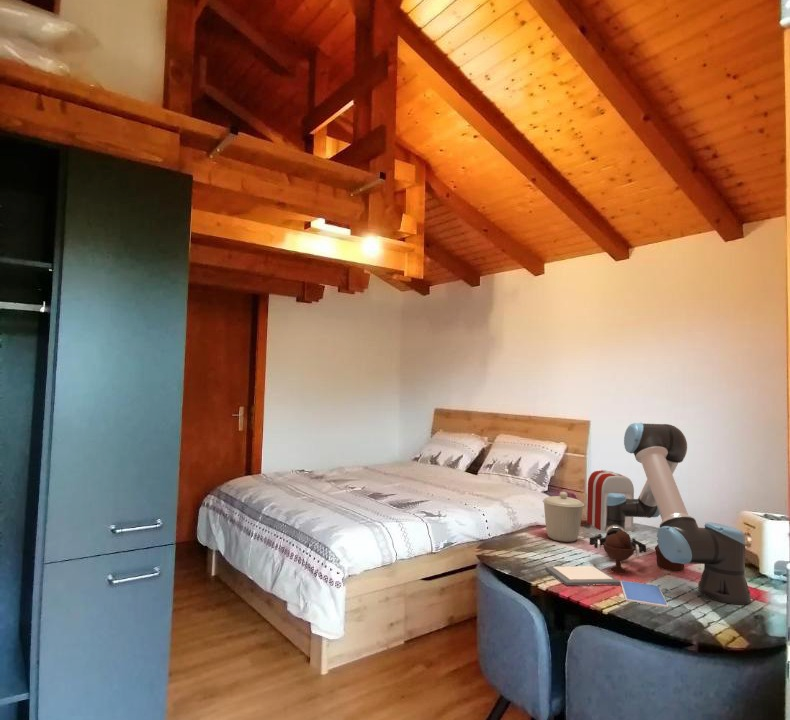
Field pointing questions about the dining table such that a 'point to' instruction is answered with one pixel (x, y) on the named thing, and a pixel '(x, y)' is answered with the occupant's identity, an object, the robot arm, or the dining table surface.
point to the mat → (568, 582)
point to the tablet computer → (643, 594)
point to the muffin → (667, 562)
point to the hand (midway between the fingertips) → (618, 550)
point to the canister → (563, 517)
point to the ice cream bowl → (619, 549)
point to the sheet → (582, 573)
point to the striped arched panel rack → (597, 496)
